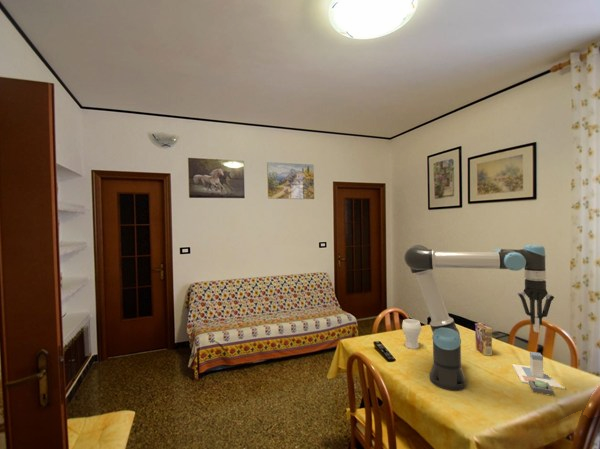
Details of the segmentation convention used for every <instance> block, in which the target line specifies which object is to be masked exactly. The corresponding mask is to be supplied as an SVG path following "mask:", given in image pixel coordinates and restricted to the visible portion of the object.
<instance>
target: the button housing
mask: <svg viewBox="0 0 600 449" xmlns="http://www.w3.org/2000/svg"><path fill="white" fill-rule="evenodd" d="M546 384H547V389H546V388H540V387H536V386H535V381H533V380H529V384H528V385H530V386H529V388H530V389H531V391H532V390H533V391H532V392H533V393H535V392H537V393H536V394H540V393H543V394H542V395H546V394H549V395H548V396H552V395H555V392H554V388H552V387H550V385H549V384H548V383H546Z"/></svg>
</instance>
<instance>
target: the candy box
mask: <svg viewBox="0 0 600 449" xmlns="http://www.w3.org/2000/svg"><path fill="white" fill-rule="evenodd" d="M474 325H475V326H474V327H475V329H474V330H475V333H474V334H475V350H476V351H477V352H479V353H481V355H482V354H483V355H484V356H490V355H491V356H493V332H492V331H493V329H492V327H491V326H487V325H486V324H483V323H482V322H476V323H474Z"/></svg>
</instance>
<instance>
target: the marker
mask: <svg viewBox="0 0 600 449" xmlns="http://www.w3.org/2000/svg"><path fill="white" fill-rule="evenodd" d="M529 363H530V364H529V366H530V372H531V374H532V376H535V377H541V378H543V369H544V356H543V355H542V354H541V352H536V351H529Z"/></svg>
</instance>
